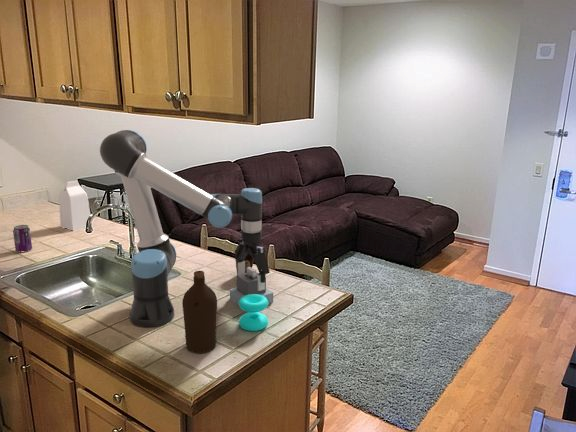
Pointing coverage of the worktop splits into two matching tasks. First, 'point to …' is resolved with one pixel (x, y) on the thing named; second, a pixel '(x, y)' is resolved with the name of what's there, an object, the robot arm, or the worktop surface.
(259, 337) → the worktop surface
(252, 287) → the grey block
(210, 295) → the olive oil
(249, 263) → the coffee cup
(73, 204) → the milk
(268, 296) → the base
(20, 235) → the beverage can
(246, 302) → the donuts
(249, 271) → the post
